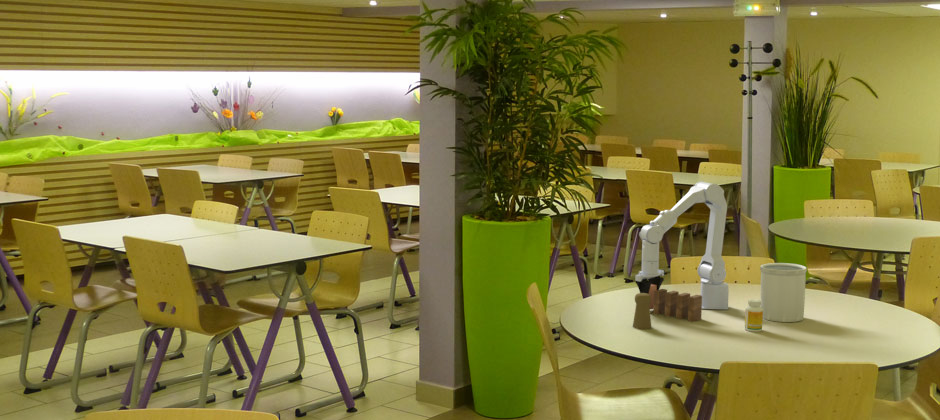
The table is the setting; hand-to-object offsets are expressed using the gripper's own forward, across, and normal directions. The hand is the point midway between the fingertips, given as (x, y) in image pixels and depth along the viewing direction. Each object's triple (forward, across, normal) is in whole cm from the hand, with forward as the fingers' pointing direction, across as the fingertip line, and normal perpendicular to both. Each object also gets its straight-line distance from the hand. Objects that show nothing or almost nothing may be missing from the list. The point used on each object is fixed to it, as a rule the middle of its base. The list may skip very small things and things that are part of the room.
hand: (649, 299), depth 340 cm
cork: (+4, +21, +11) cm, 24 cm away
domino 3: (+4, 0, +9) cm, 10 cm away
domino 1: (+3, 0, 0) cm, 3 cm away
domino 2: (+4, 0, +4) cm, 6 cm away
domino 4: (+4, 0, +14) cm, 14 cm away
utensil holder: (+4, -23, +37) cm, 44 cm away
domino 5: (+4, 0, +18) cm, 18 cm away
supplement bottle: (+4, -1, +39) cm, 39 cm away
